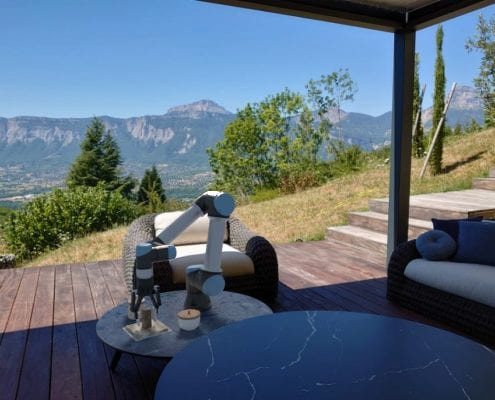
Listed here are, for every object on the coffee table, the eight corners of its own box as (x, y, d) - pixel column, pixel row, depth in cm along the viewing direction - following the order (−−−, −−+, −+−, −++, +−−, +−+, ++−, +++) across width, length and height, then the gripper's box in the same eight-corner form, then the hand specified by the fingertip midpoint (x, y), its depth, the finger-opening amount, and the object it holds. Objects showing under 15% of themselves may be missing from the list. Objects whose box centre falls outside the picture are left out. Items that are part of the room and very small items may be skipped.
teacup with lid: (149, 316, 213) (148, 294, 211) (135, 322, 206) (134, 299, 204) (135, 311, 220) (134, 290, 219) (121, 316, 213) (120, 295, 212)
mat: (156, 319, 208) (156, 318, 208) (172, 331, 194) (172, 330, 194) (121, 329, 198) (121, 328, 198) (135, 342, 183) (135, 341, 183)
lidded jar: (202, 324, 202) (202, 306, 201) (198, 334, 191) (197, 314, 190) (181, 324, 203) (180, 305, 202) (175, 333, 192) (175, 314, 191)
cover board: (155, 320, 206) (154, 301, 205) (168, 330, 194) (167, 309, 193) (126, 328, 197) (125, 307, 196) (137, 339, 185) (136, 317, 184)
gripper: (161, 271, 202) (163, 315, 204) (120, 278, 190) (122, 325, 192) (168, 274, 196) (169, 320, 198) (126, 282, 184) (128, 331, 186)
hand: (146, 323), depth 195 cm, fingers open, 8 cm apart
